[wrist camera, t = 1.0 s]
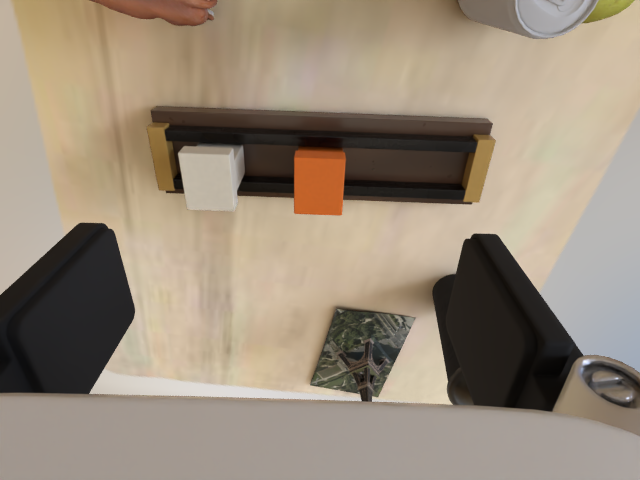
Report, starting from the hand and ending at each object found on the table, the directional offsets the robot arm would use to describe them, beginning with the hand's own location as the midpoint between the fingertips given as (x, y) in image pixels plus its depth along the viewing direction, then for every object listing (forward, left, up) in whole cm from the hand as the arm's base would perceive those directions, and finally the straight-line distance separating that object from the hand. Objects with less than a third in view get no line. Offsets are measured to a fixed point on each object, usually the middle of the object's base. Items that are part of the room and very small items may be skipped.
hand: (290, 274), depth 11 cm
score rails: (+7, +1, -27) cm, 28 cm away
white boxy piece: (+7, -8, -27) cm, 29 cm away
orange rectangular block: (+7, +1, -27) cm, 28 cm away
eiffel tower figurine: (+34, +7, -29) cm, 45 cm away
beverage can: (-7, +13, -29) cm, 32 cm away
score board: (+7, +1, -29) cm, 30 cm away
